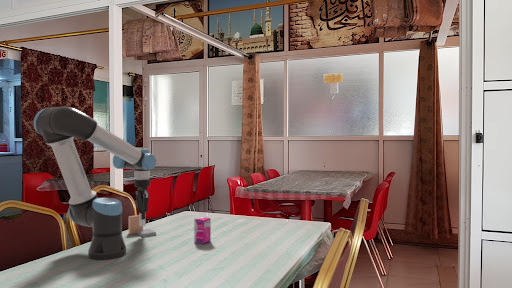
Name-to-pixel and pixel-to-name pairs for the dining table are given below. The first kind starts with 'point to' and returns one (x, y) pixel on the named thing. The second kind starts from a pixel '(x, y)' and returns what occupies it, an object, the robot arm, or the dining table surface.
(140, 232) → the slate tile
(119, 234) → the robot arm
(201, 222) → the supplement box
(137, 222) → the terracotta tile
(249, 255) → the dining table surface
